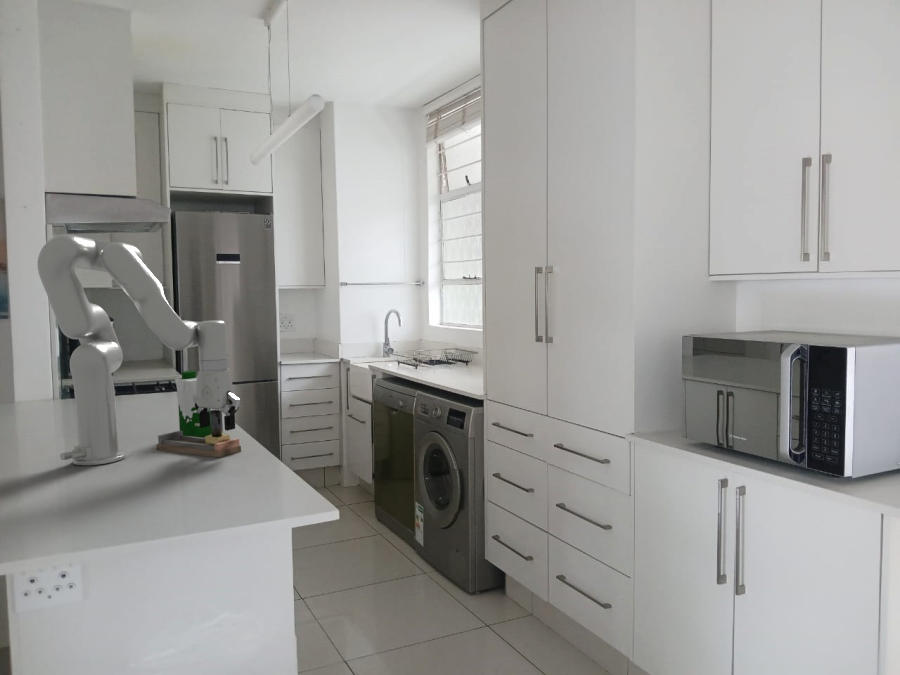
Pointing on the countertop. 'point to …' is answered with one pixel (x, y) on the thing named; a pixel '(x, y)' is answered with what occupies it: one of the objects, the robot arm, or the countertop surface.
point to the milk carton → (189, 406)
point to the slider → (216, 428)
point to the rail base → (196, 445)
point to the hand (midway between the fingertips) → (217, 428)
